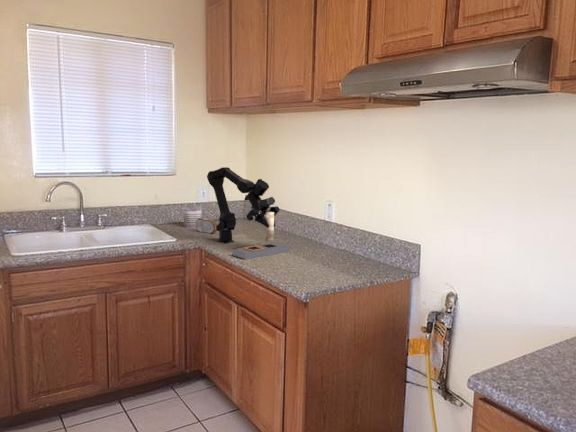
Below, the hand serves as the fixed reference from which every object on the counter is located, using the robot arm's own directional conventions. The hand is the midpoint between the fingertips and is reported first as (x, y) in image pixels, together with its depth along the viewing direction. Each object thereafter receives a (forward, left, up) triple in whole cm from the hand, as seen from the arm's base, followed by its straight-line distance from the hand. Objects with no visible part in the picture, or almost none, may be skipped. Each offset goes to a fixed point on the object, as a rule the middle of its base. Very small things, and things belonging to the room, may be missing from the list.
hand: (271, 226), depth 239 cm
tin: (-60, +12, -13) cm, 63 cm away
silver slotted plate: (-2, -5, -13) cm, 14 cm away
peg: (-1, 0, -7) cm, 7 cm away
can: (-81, +20, -13) cm, 85 cm away
